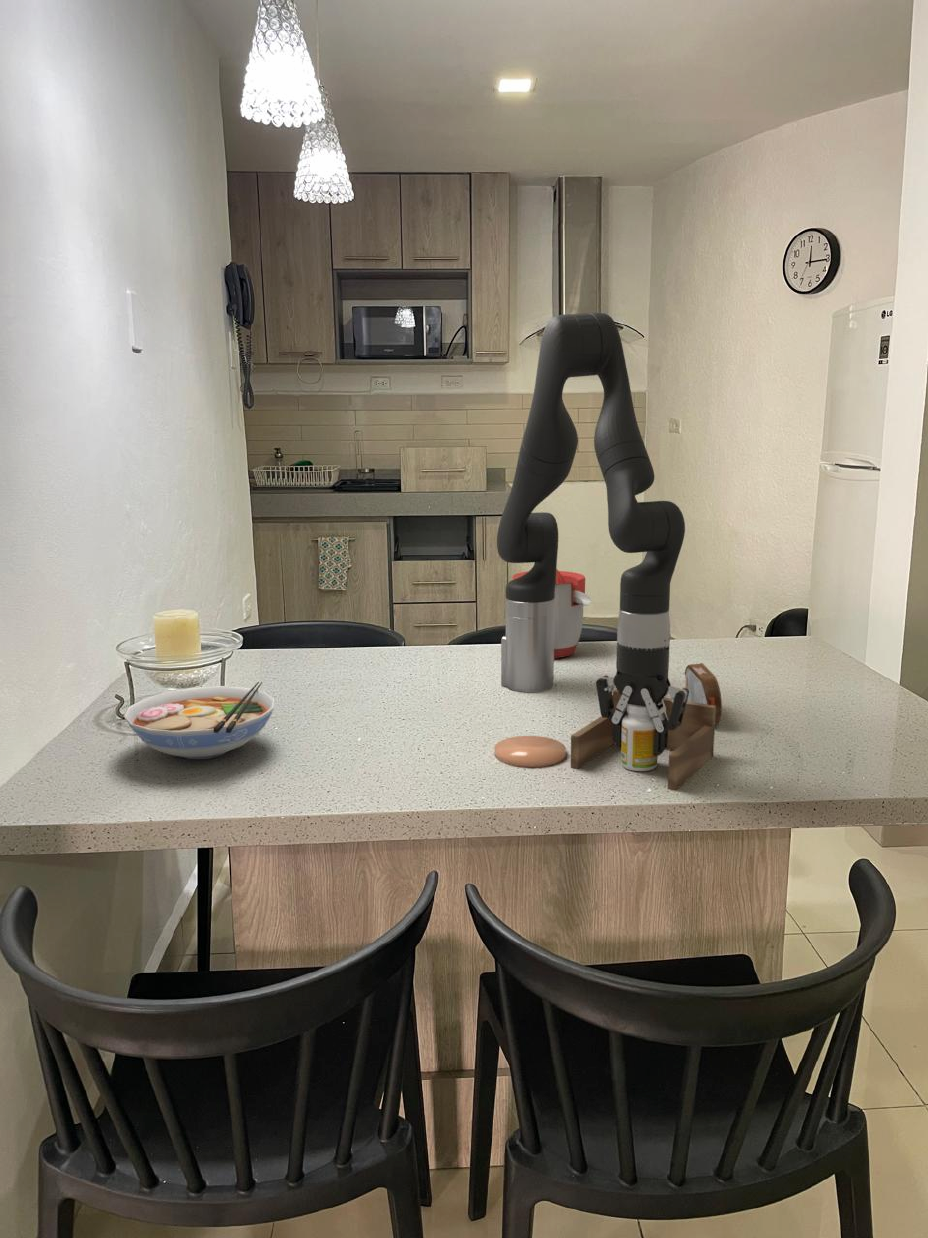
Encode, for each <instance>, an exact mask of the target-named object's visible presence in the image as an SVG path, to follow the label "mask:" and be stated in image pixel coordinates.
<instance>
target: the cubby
mask: <svg viewBox="0 0 928 1238" xmlns="http://www.w3.org/2000/svg"><path fill="white" fill-rule="evenodd" d="M612 696H613V702H614V708H615V710H616V706H617V704H618V702H619V700H620V698H621V695H620V693H619V692H618V690H617V688H616V689H613V690H612ZM663 701H664V704H665V707H666V714H667V717H668V720H669V718H670V714H671V710H672V706H673V703H672V702H671V700H670V697H666V696H665V697H664V698H663ZM715 714H716V706H713V705H707V704H701V703H695V702H689V701H687V703H686V707H685V711H684V715H683V719H682V723H681V725H680V726H678V727H677V728H676V729H675V730H668V740H667V741H668V743H667V748H666V750H668V751H672V752H670V753H669V755H668V773H667V774H668V775H667V776H668V777H667V789H669V790H673V791H677V790H678V789H679V788H680V787H681V786H682V785H684V783H685V782H687V781H688V780H689V779H690V777H692V776H694V774H695V773H697V771H699V769H701V768H702V767H703V766H704V765H705V764H706V763H708V761H709V760H710V759H711V758H713V757H714V749H715V730H716V723H715ZM627 715H628V713H627ZM612 738H613V723H612V721H611V720H610V719H608V718H603V717H602V716H601V715H600V716H599V717H598V718H596V719H595V720H593V721H591V722H590V723H589V724H587V725H585V726H584V727H581V729H579V730H577V731H576V732H574V733H573V734H571V735H570V768H573V769H580V768H581V767H583V766H584V765H585V764H587V763H588V762H590V761H591V760H593V759H594V758H595V757H597V756H598V755H599V754H601V753H602V752H604V751H605V750H607V749H608V748H610V747H611V746H612V745H614V744H615V743H614V742H613V740H612Z"/></svg>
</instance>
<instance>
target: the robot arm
mask: <svg viewBox="0 0 928 1238" xmlns="http://www.w3.org/2000/svg"><path fill="white" fill-rule="evenodd" d="M539 347H540V348H539V354H538V361H537V368H536V376H535V383H534V389H533V394H532V395H533V396H532V400H531V405H530V409H529V414H528V418H527V422H526V426H525V429H524V433H523V435H522V439H521V444H520V448H519V453H518V458H517V463H516V467H515V472H514V477H513V481H512V486H511V489H510V492H509V495H508V498H507V500H506V503H505V507H504V508H503V511H502V515H501V517H500V520H499V524H498V528H497V533H496V549H497V550H496V551H497V554H498V555H499V557H500V558H501V559H502V560H503V561H504V562H506V563H511V564H526V563H527V564H531V563H534V564H533V565H532V567H531V568H530V569H529V570H528V571H529V572H528V571H526V572H527V573H526V574H524V575H523V576H521V577H519V578H516V579H512V580H510V581H508V583H506V586H505V635H503V636H502V637H501V640H500V643H501V644H500V647H501V648H500V649H501V650H500V655H501V656H500V657H501V658H500V662H501V663H500V668H501V669H500V671H501V672H500V676H501V677H500V678H501V679H500V680H501V681H500V685H501V686H503V687H506V688H507V689H509V690H512V691H517V692H524V693H526V692H527V693H535V692H536V693H537V692H544V691H548V690H550V689H552V688H553V687H554V678H555V675H554V670H555V668H554V666H555V659H554V607H555V585H556V569H558V567H557V565H558V551H559V527H558V522H557V520H556V518H555V516H554V515H553V514H552V513H550V512H533V511H534V510H535V508H536V507H538V506H539V505H540V504H541V503H542V502H543V501H544V500H546V498H548V497H549V496H550V495H551V494H553V493H554V492H555V491H556V490H557V489H558V488H559V487H560V486H561V485H562V484H563V483H564V482H565V480H566V479H567V477H568V476H569V475H570V472H571V469H572V466H573V463H574V459H575V457H576V453H577V450H578V444H579V437H578V436H579V435H578V431H577V429H576V426H575V424H574V422H573V419H572V417H571V415H570V414H569V412H568V410H567V408H566V405H565V403H564V400H563V392H564V387H565V384H566V382H567V381H568V379H569V378H579V377H592V376H597V377H598V379H599V380H600V382H601V385H602V388H603V401H602V406H601V409H600V413H599V415H598V419H597V422H596V426H595V430H594V437H593V447H594V451H595V456H596V459H597V462H598V466H599V468H600V471H601V473H602V477H603V480H604V484H605V486H606V488H605V489H606V498H607V521H608V522H607V524H608V533H609V536H610V539H611V541H612V543H613V544H614V545H615V546H616V548H617V549H618V550H620V551H622V552H623V553H627V554H635V553H636V554H637V553H638V554H639V553H646V554H645V556H644V559H643V560H642V562H641V563H639V564H638V565H635V566H633V567H630V568H628V569H626V570H624V571H623V573H622V574H621V576H620V582H619V583H620V585H619V587H620V588H619V590H620V591H619V611H618V618H617V627H616V628H617V629H616V658H615V659H616V663H615V665H616V673H615V675H614V676H611V677H610V676H609V675H603V676H601V677H599V678H597V679H596V681H595V686H596V693H597V700H598V705H599V711H600V717H601V716H602V717H603V718H608V719H610V720H611V721H612V723H613V738H612V740H613V742H614V744H615V747H616V748H620V749H621V736H622V719H623V718H624V717H625V716H626V715H627V704H632V705H638V706H644V707H647V709H648V712H649V715H650V717H651V718H652V719H653V722H654V724H655V727H656V731H655V732H654V755H658V757H659V756H661V755H662V754H663V752H665V751H666V750H667V749H666V748H667V743H668V741H667V740H668V730H675V729H676V728H677V727H678V726H680V725H681V723H682V719H683V715H684V711H685V707H686V703H687V699H688V696H689V690H688V689H687V688H686V687H683V688H678V687H676V686H673V685H671V681H670V680H669V670H670V669H669V667H670V642H671V638H672V637H671V636H672V634H671V619H670V598H671V596H670V593H671V582H672V579H673V575H674V572H675V570H676V566H677V561H678V560H679V555H680V552H681V549H682V546H683V543H684V539H685V535H686V534H685V533H686V523H685V518H684V515H683V512H682V511H681V508H680V507H679V506H678V505H677V504H676V503H674V502H672V501H669V500H655V501H640V502H639V501H638V500H637V498H636V496H638V495H640V494H643V493H644V492H646V491H647V490H649V489H650V488H651V486H653V484H654V481H655V471H654V468H653V465H652V462H651V459H650V456H649V454H648V451H647V448H646V446H645V442H644V440H643V436H642V434H641V431H640V427H639V424H638V421H637V417H636V413H635V408H634V402H633V397H632V390H631V383H630V378H629V374H628V368H627V363H626V358H625V354H624V353H625V352H624V347H623V343H622V339H621V335H620V332H619V329H618V326H617V324H616V323H615V320H614V319H613V318H612V316H610V315H609V314H607V313H604V312H588V313H587V312H585V313H572V314H571V313H566V314H559V315H555V316H553V317H551V318H550V319H549V320H548V321H547V323H546V325H545V327H544V330H543V333H542V337H541V341H540V345H539ZM614 687H615V688H616V689H617V690H618V692H619V693H620V695H621V698H620V700H619V702H618V704H617V706H616V710H615V708H614V702H613V691H614V690H615V689H614ZM667 695H669V696H670V697H669V698H670V700H671V702H672V703H673V706H672V710H671V714H670V718H669V720H668V717H667V714H666V707H665V704H664V701H663V698H664V697H665V698H666V696H667Z"/></svg>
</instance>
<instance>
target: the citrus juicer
mask: <svg viewBox="0 0 928 1238" xmlns="http://www.w3.org/2000/svg"><path fill="white" fill-rule="evenodd" d="M529 571H530V570H528V571H522V572H518V573H515V574H513V575H512V577H511V578H512V580H514V579H516V578H519V577H521V576H523V575H524V574H526V573H527V572H529ZM591 603H592V599H591V597H590V595H588V594H586V576H585V575H584V574H581V573H577V572H573V571H565V570H564V571H563V570H559V569H558V568H556V585H555V607H554V660H558V659H559V658H563V657H564V658H565V657H568V656H571V655H573V654H575V651H576V650H577V647H578V645H579V640H580V638H581V634H582V630H583V623H584V622H583V620H584V606H585V607H587V606H590V605H591Z"/></svg>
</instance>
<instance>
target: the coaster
mask: <svg viewBox="0 0 928 1238" xmlns="http://www.w3.org/2000/svg"><path fill="white" fill-rule="evenodd" d="M566 751H567V748H566V745H565V744H564V743H562V742H561V741H559V740H557V739H554V738H551V737H546V736H538V735H520V736H512V737H507V738H504V739H502V740H500V741H498V742H497V743H496V744H495V745H494V757H495V758H496V759H497V760H498V761H500V762H502V763H504V764H507V765H511V766H514V767H519V768H520V767H522V768H542V767H549V766H553V765H556V764H558V763H561V762H563V760H565V759H566V755H567V752H566Z"/></svg>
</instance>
